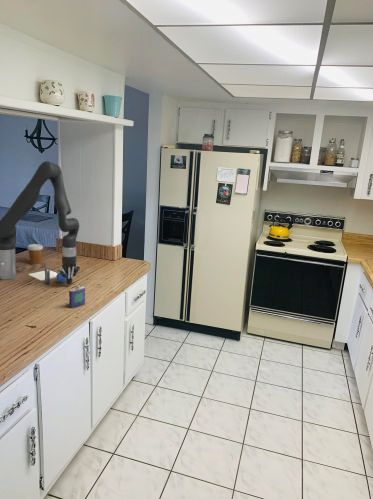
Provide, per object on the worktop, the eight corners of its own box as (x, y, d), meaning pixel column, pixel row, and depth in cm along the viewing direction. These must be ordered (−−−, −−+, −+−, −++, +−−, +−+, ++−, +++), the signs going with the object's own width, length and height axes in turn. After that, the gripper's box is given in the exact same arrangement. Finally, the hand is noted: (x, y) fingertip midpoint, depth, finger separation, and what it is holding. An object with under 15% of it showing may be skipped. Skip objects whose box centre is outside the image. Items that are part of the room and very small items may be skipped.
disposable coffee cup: (27, 261, 255) (26, 244, 252) (42, 261, 259) (42, 243, 256) (28, 266, 246) (27, 247, 243) (44, 265, 250) (43, 247, 247)
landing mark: (41, 280, 223) (41, 280, 223) (28, 274, 231) (28, 274, 231) (62, 275, 233) (62, 275, 233) (49, 270, 242) (49, 269, 242)
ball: (53, 278, 223) (58, 285, 220) (55, 270, 221) (60, 276, 217) (63, 277, 228) (68, 283, 224) (65, 269, 225) (69, 275, 221)
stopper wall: (19, 272, 233) (19, 268, 232) (17, 271, 234) (17, 267, 234) (46, 267, 247) (46, 263, 246) (44, 266, 248) (44, 262, 247)
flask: (83, 302, 197) (83, 282, 195) (86, 304, 196) (87, 284, 193) (67, 307, 190) (67, 286, 187) (71, 309, 188) (71, 288, 186)
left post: (46, 285, 217) (46, 269, 214) (44, 283, 218) (43, 268, 216) (50, 284, 219) (50, 268, 216) (48, 282, 220) (48, 267, 218)
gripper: (75, 251, 220) (75, 280, 224) (54, 254, 209) (54, 285, 214) (83, 254, 215) (83, 283, 219) (62, 258, 205) (62, 288, 209)
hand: (69, 284), depth 217 cm, fingers closed
